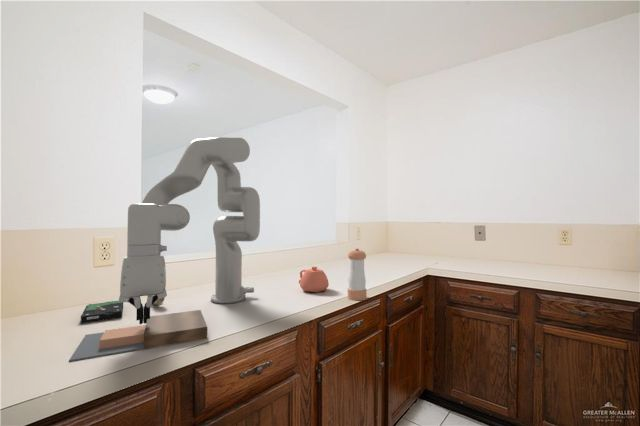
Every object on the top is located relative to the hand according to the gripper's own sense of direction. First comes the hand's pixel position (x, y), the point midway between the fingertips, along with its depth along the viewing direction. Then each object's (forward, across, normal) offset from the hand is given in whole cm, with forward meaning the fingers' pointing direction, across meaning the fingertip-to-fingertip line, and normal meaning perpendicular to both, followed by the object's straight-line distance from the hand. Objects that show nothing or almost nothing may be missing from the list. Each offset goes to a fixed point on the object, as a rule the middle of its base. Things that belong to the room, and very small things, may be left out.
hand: (143, 322), depth 78 cm
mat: (+4, +6, 0) cm, 8 cm away
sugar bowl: (+4, -62, -27) cm, 67 cm away
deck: (+4, -8, 0) cm, 9 cm away
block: (+4, +4, +1) cm, 5 cm away
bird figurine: (+4, -4, -29) cm, 29 cm away
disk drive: (+5, +12, -28) cm, 31 cm away
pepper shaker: (+4, -72, -8) cm, 72 cm away
